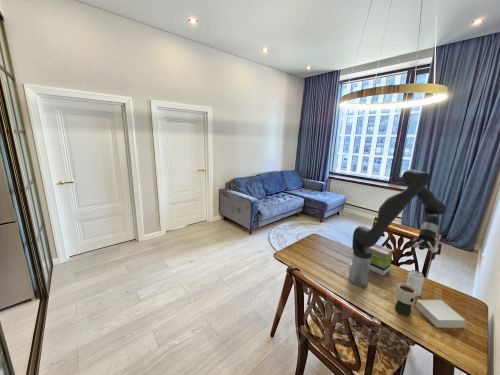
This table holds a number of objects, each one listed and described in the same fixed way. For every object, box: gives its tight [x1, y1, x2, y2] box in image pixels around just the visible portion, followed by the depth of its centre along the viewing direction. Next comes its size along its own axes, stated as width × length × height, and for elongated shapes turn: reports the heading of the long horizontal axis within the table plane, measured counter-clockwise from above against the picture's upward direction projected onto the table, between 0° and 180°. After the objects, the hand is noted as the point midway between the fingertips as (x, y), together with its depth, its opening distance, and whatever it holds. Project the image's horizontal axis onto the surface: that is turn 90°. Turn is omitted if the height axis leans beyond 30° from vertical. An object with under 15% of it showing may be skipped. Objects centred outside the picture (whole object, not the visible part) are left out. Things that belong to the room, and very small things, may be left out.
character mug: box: [394, 283, 416, 317], centre depth 101 cm, size 11×7×13 cm, turn 133°
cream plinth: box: [415, 299, 466, 329], centre depth 99 cm, size 12×12×4 cm
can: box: [406, 269, 425, 298], centre depth 114 cm, size 6×6×12 cm
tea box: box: [369, 243, 394, 277], centre depth 136 cm, size 15×10×15 cm, turn 37°
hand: (421, 256), depth 119 cm, fingers open, 8 cm apart
